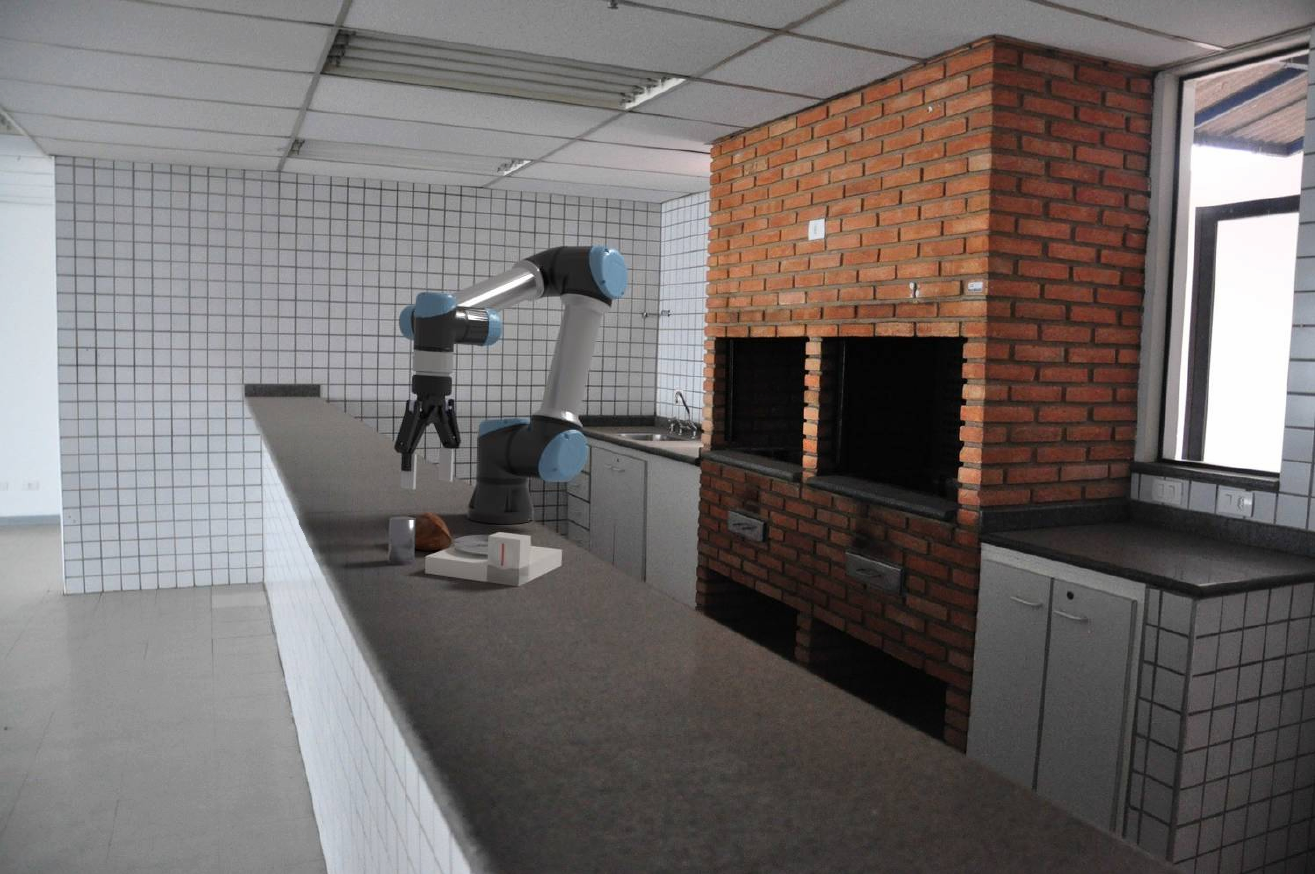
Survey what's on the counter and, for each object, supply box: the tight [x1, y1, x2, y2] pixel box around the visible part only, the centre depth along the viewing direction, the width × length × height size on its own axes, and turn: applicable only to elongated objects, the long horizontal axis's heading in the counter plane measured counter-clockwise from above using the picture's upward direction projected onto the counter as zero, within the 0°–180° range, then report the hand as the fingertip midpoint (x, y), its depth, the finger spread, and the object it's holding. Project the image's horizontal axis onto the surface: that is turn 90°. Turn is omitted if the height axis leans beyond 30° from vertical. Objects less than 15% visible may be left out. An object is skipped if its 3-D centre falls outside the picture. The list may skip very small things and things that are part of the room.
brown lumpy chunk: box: [404, 512, 453, 552], centre depth 194 cm, size 13×8×10 cm
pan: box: [452, 534, 532, 555], centre depth 182 cm, size 14×14×2 cm
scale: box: [424, 531, 563, 587], centre depth 180 cm, size 18×18×8 cm
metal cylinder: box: [387, 516, 416, 566], centre depth 182 cm, size 5×5×8 cm
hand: (427, 484), depth 193 cm, fingers open, 13 cm apart
